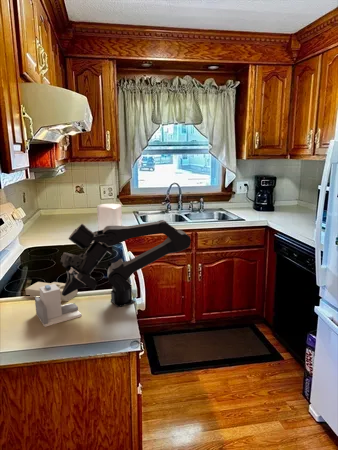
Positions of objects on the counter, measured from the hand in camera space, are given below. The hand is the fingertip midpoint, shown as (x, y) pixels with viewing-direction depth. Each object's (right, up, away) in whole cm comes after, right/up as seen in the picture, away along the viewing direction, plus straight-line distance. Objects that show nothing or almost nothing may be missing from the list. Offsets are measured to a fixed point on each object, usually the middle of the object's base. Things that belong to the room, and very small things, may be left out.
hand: (62, 295), depth 111 cm
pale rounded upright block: (-2, +15, +99) cm, 100 cm away
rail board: (-2, -7, +1) cm, 7 cm away
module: (-3, -7, -1) cm, 8 cm away
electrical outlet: (-9, -4, +17) cm, 20 cm away
